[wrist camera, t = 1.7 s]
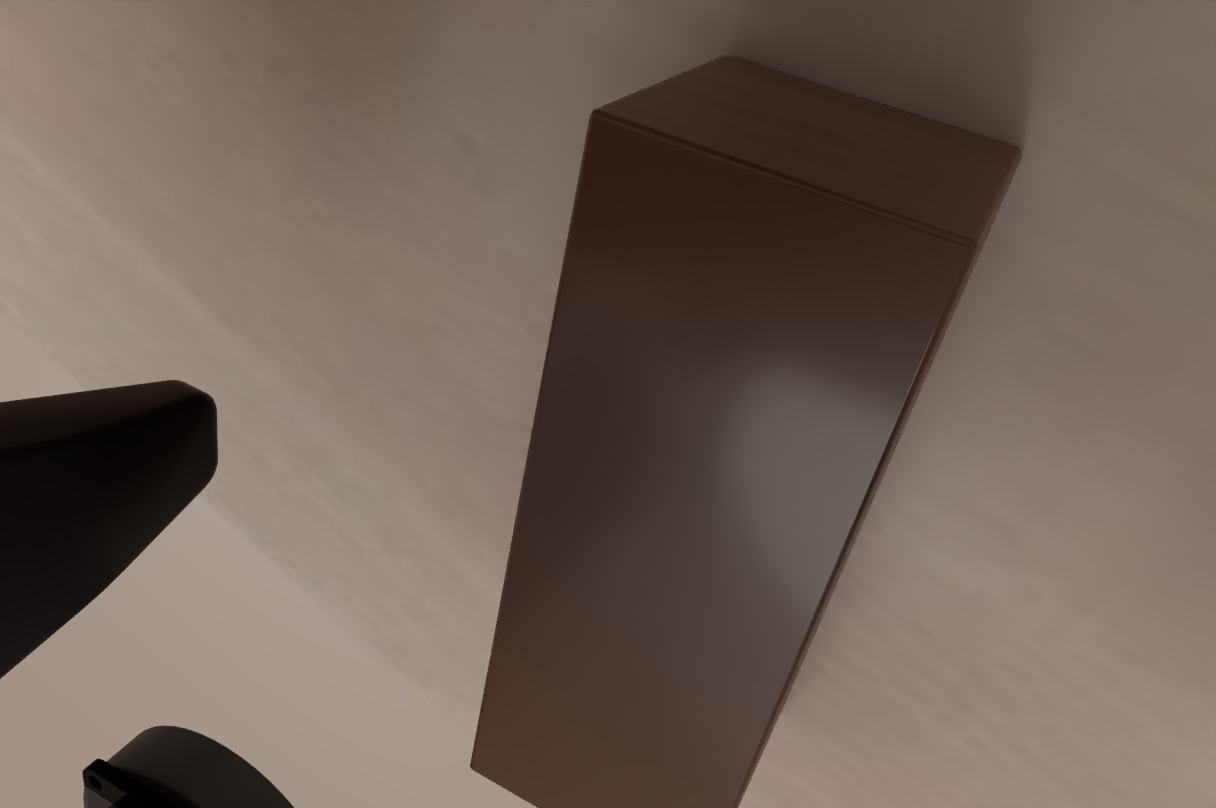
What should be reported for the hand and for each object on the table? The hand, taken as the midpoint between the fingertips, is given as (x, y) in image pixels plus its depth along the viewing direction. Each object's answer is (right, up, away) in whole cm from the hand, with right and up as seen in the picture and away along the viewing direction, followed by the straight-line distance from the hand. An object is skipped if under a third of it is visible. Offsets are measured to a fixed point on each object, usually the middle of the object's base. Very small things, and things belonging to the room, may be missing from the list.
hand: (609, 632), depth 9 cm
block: (+2, +2, +3) cm, 4 cm away
